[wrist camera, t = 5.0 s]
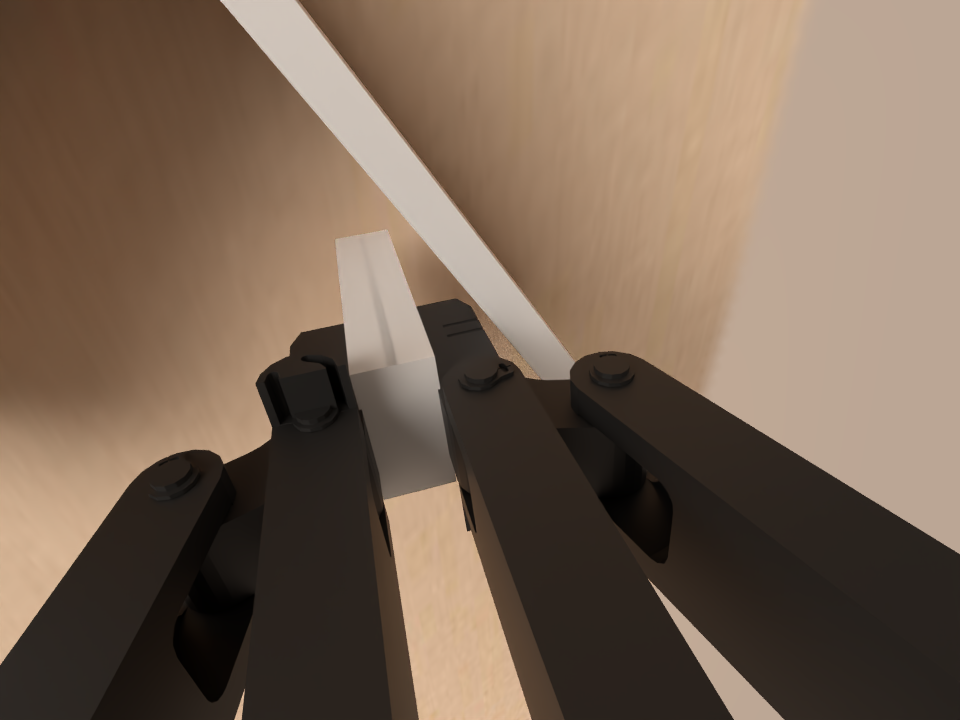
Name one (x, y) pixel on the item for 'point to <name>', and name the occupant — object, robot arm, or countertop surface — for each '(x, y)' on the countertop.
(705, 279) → the countertop surface
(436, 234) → the side door
